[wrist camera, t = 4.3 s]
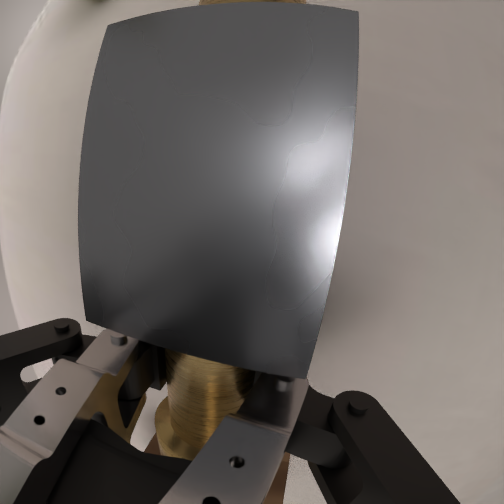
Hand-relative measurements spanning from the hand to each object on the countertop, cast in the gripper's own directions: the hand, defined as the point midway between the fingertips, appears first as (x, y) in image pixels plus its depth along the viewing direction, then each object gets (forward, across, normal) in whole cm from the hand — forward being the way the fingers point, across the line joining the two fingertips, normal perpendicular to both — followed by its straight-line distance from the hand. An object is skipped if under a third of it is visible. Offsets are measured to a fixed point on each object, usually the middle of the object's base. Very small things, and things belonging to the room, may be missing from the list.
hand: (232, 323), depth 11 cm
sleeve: (+1, 0, -6) cm, 6 cm away
